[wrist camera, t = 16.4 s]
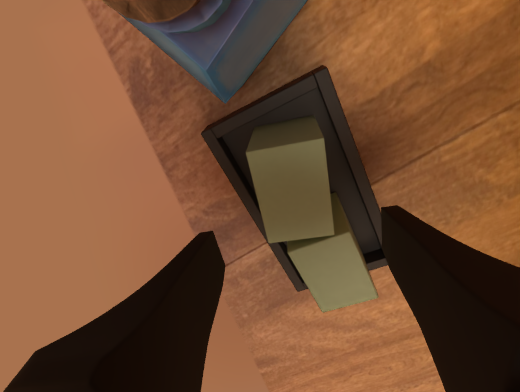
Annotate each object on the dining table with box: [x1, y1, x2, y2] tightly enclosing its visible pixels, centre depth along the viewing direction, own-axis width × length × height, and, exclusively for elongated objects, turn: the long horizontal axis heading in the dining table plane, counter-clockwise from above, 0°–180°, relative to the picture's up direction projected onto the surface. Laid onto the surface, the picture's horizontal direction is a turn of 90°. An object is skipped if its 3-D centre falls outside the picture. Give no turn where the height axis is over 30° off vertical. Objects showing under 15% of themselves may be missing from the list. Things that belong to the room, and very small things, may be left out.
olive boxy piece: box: [246, 115, 335, 243], centre depth 17 cm, size 4×6×5 cm, turn 12°
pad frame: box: [201, 65, 388, 292], centre depth 21 cm, size 9×16×2 cm, turn 27°
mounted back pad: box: [287, 192, 378, 312], centre depth 20 cm, size 4×6×5 cm, turn 27°
